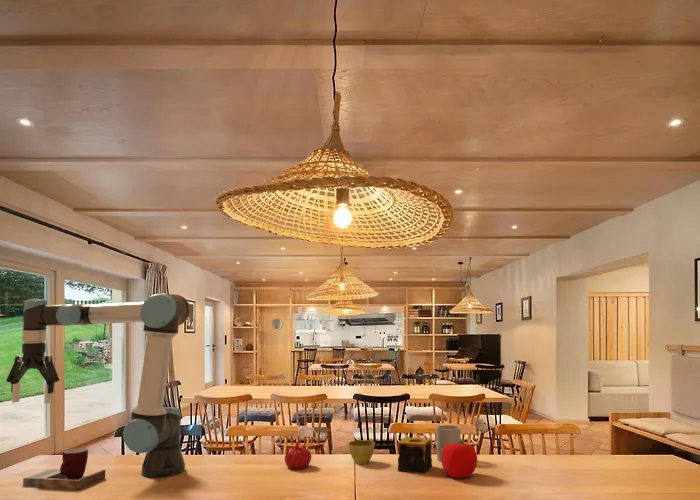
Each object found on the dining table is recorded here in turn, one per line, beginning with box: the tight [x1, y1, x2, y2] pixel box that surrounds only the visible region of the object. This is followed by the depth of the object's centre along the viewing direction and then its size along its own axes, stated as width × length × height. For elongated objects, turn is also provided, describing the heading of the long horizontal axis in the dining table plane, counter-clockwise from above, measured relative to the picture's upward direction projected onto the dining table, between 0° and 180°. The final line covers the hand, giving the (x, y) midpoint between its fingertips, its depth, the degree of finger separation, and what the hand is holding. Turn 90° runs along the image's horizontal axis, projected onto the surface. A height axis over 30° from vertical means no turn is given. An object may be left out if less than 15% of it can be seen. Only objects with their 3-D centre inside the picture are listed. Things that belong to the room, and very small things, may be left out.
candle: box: [397, 436, 433, 474], centre depth 214 cm, size 10×10×10 cm
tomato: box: [441, 440, 478, 479], centre depth 203 cm, size 12×14×11 cm
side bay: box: [22, 468, 106, 491], centre depth 206 cm, size 23×14×3 cm, turn 76°
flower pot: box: [347, 439, 376, 465], centre depth 224 cm, size 10×10×7 cm
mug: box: [59, 447, 89, 480], centre depth 206 cm, size 11×8×10 cm
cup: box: [435, 424, 462, 463], centre depth 226 cm, size 9×9×12 cm
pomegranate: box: [284, 441, 313, 470], centre depth 220 cm, size 10×10×9 cm
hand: (31, 402), depth 212 cm, fingers open, 13 cm apart
